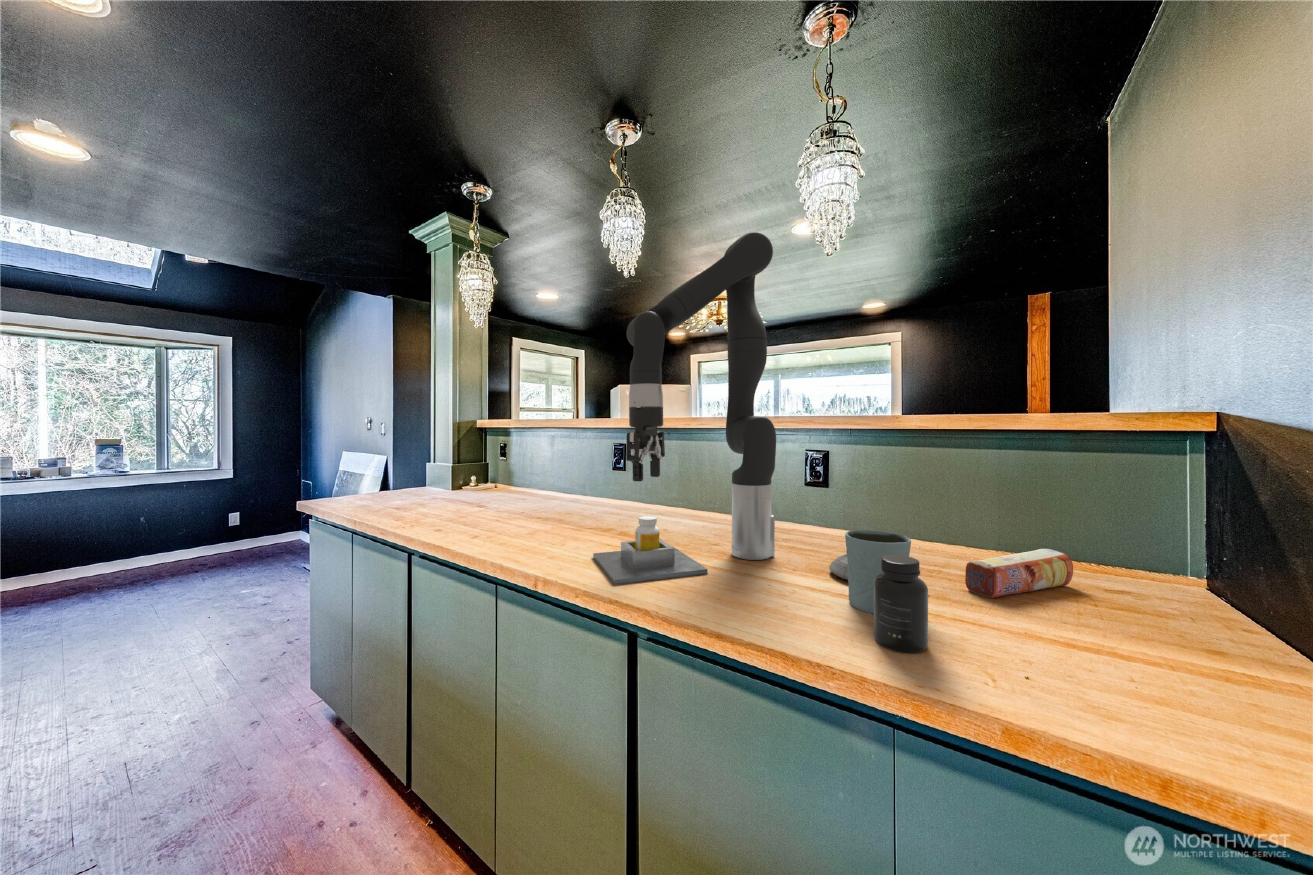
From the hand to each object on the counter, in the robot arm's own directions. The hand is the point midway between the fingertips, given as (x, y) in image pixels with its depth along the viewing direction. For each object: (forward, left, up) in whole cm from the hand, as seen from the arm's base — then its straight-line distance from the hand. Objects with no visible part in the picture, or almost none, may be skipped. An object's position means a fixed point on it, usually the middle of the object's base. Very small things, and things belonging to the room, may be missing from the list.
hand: (646, 478), depth 101 cm
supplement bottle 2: (-22, +47, -20) cm, 55 cm away
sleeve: (0, 0, -19) cm, 19 cm away
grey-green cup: (-30, +35, -20) cm, 50 cm away
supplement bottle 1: (0, 0, -18) cm, 18 cm away
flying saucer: (-40, +23, -20) cm, 50 cm away
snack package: (-61, +38, -20) cm, 75 cm away
